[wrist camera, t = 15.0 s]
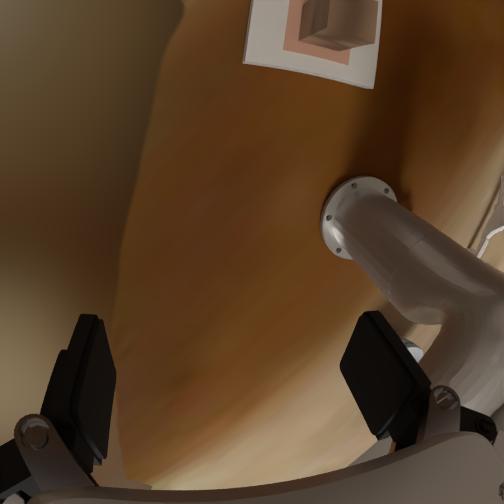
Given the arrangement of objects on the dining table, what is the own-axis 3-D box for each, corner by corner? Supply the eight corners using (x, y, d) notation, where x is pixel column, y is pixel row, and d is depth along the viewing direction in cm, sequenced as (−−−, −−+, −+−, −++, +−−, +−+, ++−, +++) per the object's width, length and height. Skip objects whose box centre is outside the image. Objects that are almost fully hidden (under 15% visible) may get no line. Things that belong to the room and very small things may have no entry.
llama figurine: (475, 175, 50) (463, 257, 50) (518, 173, 39) (509, 265, 39) (479, 179, 50) (467, 260, 50) (521, 177, 39) (511, 267, 40)
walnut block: (342, 16, 26) (378, 1, 19) (338, 51, 28) (374, 43, 21) (302, 4, 25) (331, -16, 18) (298, 41, 27) (326, 27, 20)
